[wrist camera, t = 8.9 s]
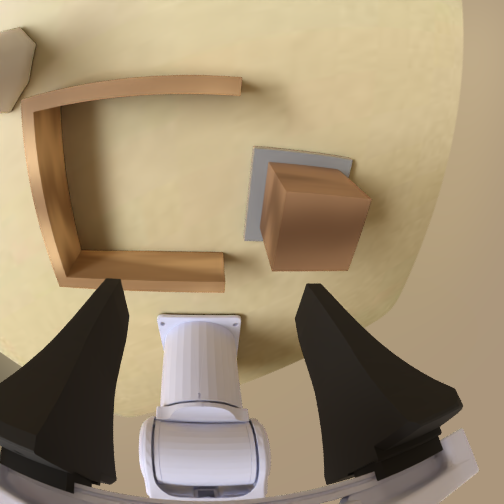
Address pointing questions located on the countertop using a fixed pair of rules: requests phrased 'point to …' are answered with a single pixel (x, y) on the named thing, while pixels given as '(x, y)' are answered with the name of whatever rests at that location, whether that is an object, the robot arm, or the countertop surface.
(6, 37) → the flask
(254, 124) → the countertop surface
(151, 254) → the oak bracket
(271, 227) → the walnut block
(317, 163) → the slate coaster
